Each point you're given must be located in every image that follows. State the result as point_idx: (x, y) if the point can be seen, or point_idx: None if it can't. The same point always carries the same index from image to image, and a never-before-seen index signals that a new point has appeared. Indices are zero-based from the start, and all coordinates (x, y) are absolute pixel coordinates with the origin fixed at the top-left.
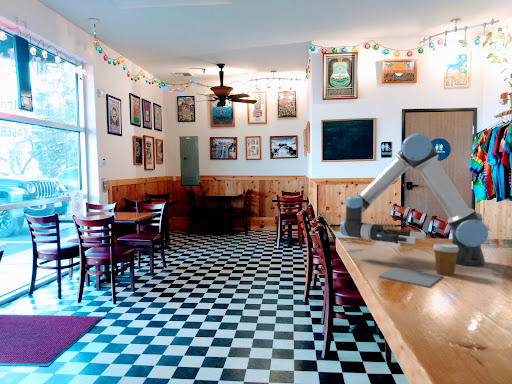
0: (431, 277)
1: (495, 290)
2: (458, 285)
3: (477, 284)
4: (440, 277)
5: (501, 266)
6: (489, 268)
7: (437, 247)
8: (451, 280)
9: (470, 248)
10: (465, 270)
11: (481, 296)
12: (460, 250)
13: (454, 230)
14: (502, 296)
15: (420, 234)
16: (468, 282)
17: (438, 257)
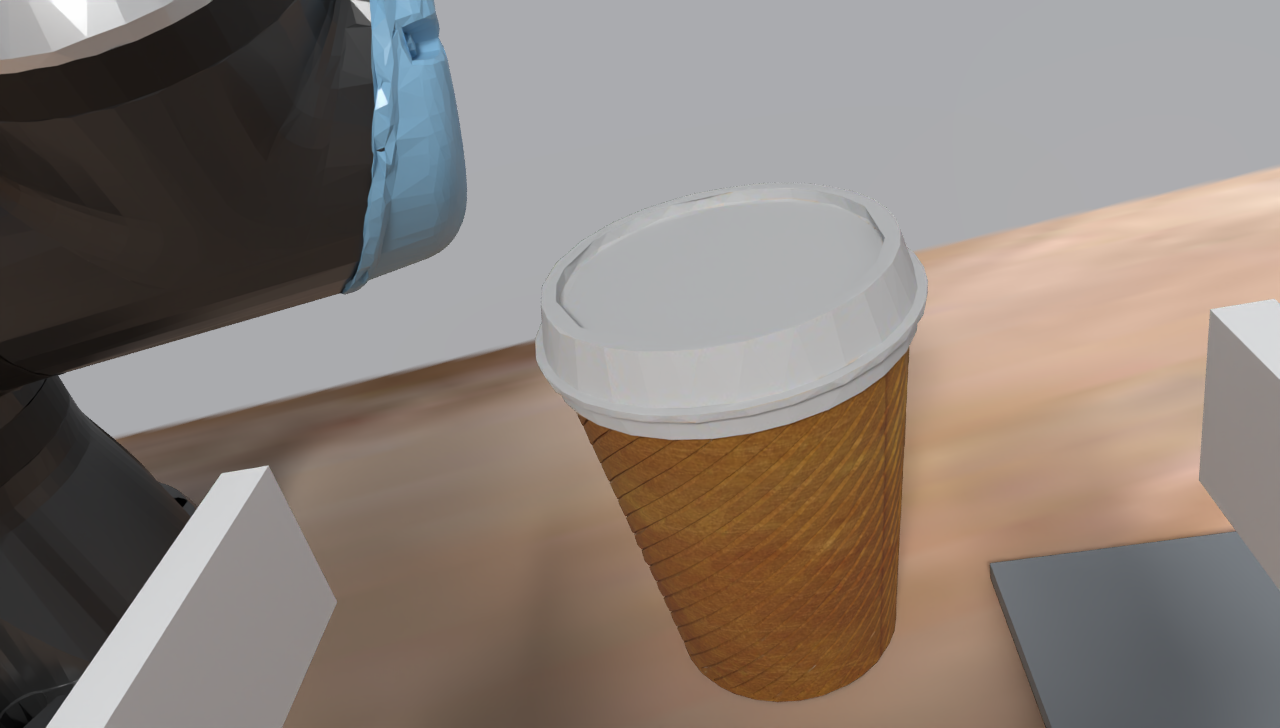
0: (1229, 603)
1: (985, 272)
2: (1145, 402)
3: (935, 356)
4: (1081, 555)
5: (153, 450)
6: None
7: (898, 298)
8: (1027, 487)
9: (87, 431)
10: (464, 549)
11: (1262, 254)
12: (73, 531)
13: (277, 125)
14: (1095, 224)
15: (231, 594)
16: (940, 400)
17: (898, 441)
